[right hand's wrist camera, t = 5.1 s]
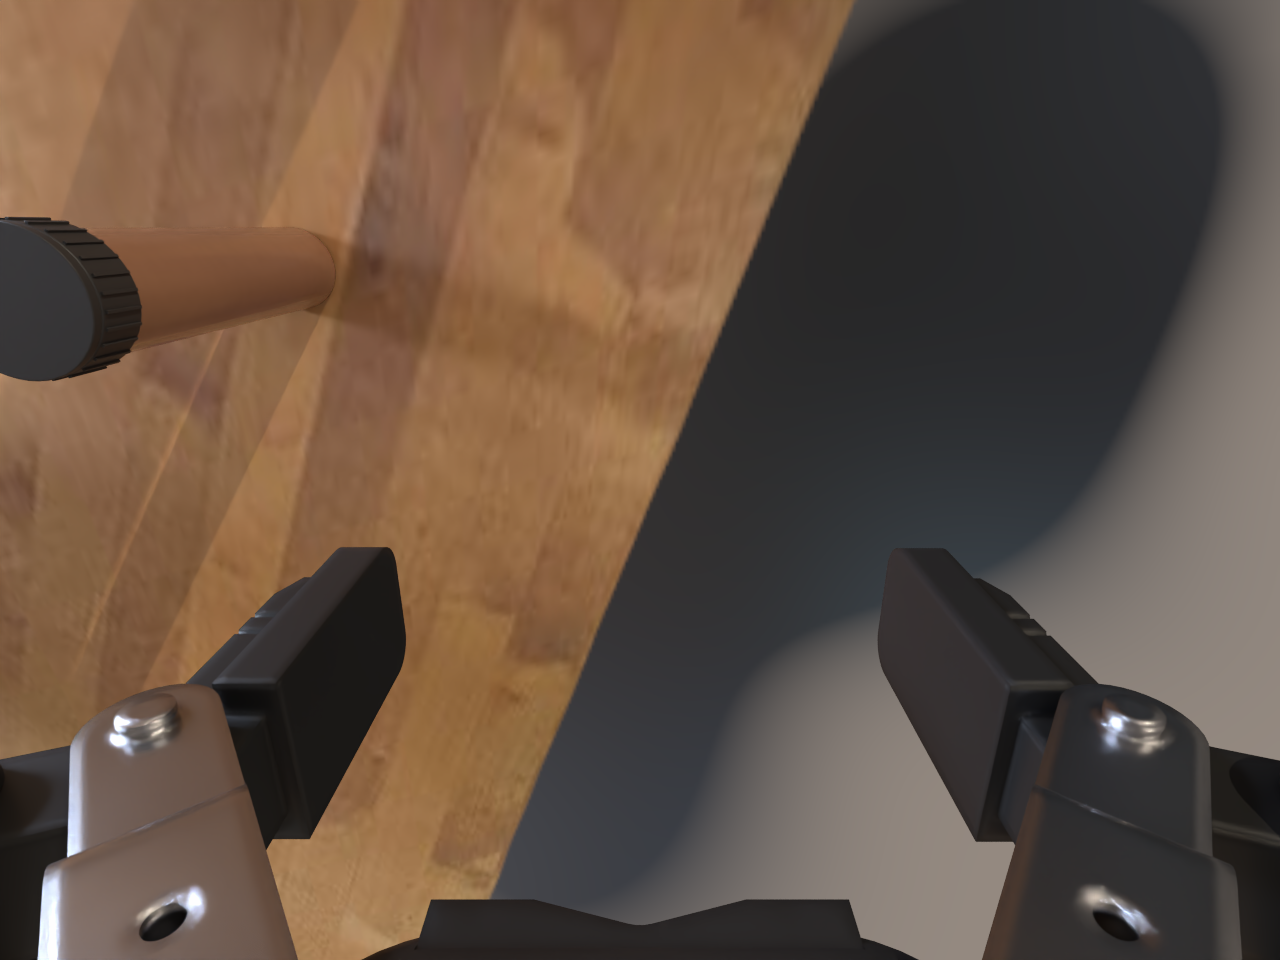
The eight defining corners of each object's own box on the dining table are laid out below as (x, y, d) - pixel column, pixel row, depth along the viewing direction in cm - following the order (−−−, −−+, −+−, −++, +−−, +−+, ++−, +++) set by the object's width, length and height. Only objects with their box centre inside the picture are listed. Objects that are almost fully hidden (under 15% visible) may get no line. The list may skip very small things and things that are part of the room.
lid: (35, 182, 21) (-29, 178, 19) (173, 294, 22) (126, 301, 20) (-35, 298, 23) (-102, 305, 20) (100, 398, 24) (49, 415, 22)
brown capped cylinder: (285, 209, 36) (-10, 196, 20) (351, 267, 37) (123, 300, 21) (241, 269, 37) (-73, 304, 21) (306, 324, 38) (55, 398, 22)
